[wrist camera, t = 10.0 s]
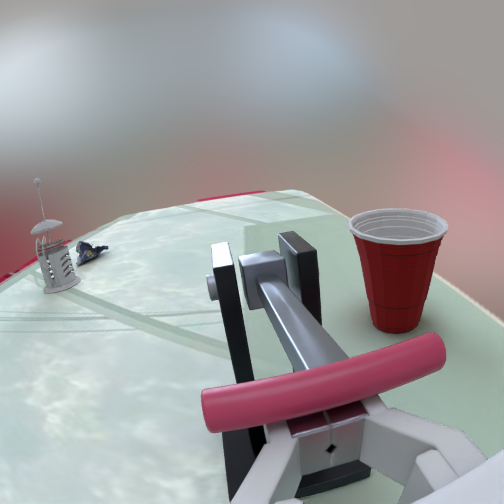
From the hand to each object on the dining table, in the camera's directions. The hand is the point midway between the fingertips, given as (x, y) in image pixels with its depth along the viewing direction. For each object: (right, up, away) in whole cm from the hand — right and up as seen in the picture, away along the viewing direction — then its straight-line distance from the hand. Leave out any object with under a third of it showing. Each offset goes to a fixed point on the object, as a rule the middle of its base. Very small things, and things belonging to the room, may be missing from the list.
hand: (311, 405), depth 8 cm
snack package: (-48, +2, +77) cm, 91 cm away
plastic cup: (+15, -4, +26) cm, 30 cm away
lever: (0, +1, +5) cm, 5 cm away
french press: (-45, -4, +56) cm, 72 cm away
